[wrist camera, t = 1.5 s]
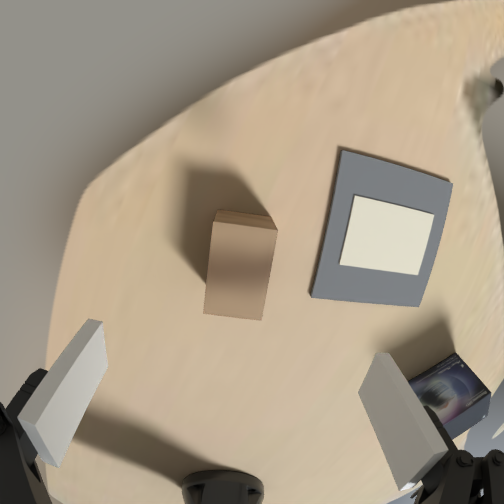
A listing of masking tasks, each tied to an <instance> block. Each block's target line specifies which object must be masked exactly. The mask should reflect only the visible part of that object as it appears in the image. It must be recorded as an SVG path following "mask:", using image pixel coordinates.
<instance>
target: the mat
mask: <svg viewBox="0 0 504 504" xmlns="http://www.w3.org/2000/svg"><path fill="white" fill-rule="evenodd" d="M452 187H453V183H450V182H447V181H444V180H442V179H439V178H436V177H433V176H430V175H427V174H424V173H421V172H418V171H415V170H412V169H409V168H405V167H402V166H399V165H396V164H392V163H389V162H385V161H382V160H378V159H375V158H371V157H367V156H364V155H360V154H356V153H352V152H348V151H344V150H341V153H340V159H339V164H338V170H337V176H336V181H335V186H334V192H333V197H332V202H331V207H330V212H329V217H328V221H327V226H326V231H325V236H324V240H323V245H322V249H321V254H320V258H319V262H318V266H317V271H316V275H315V279H314V283H313V287H312V291H311V295H310V296H311V298H319V299H329V300H339V301H350V302H361V303H372V304H384V305H397V306H411V307H419V305H420V303H421V300H422V297H423V294H424V291H425V289H426V286H427V283H428V280H429V277H430V274H431V270H432V267H433V264H434V261H435V257H436V254H437V250H438V247H439V243H440V239H441V236H442V232H443V228H444V224H445V220H446V215H447V211H448V207H449V202H450V197H451V192H452Z"/></svg>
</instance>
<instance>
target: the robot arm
mask: <svg viewBox="0 0 504 504" xmlns="http://www.w3.org/2000/svg"><path fill="white" fill-rule="evenodd" d="M107 368H108V362H107V355H106V347H105V339H104V330H103V322H102V321H97V320H93V319H88V320H87V321H86V322H85V324H84V325H83V326H82V327H81V329H80V330H79V331H78V332H77V334H76V335H75V336H74V338H73V339H72V340H71V342H70V343H69V344H68V345H67V347H66V348H65V349H64V351H63V352H62V353H61V355H60V356H59V358H58V359H57V360H56V362H55V363H54V364H53V366H52V367H51V368H50V370H49V371H46V370H44V369H38V370H37V371H35V372H33V373H32V374H31V375H30V376H29V377H28V379H27V380H26V381H25V384H23V385H22V387H21V388H20V391H18V392H17V393H16V395H15V396H14V398H13V399H12V401H11V402H10V404H9V405H8V406H7V408H6V409H5V408H4V406H3V404H2V403H1V402H0V504H52V502H51V500H50V497H49V495H48V493H47V490H46V488H45V485H44V483H43V480H42V477H41V474H40V472H39V469H38V466H37V463H36V461H35V458H36V456H37V454H39V456H40V458H41V459H42V461H44V462H46V463H48V464H50V465H53V466H55V467H58V468H59V467H60V465H61V463H62V460H63V458H64V456H65V454H66V451H67V449H68V447H69V445H70V442H71V440H72V438H73V436H74V434H75V432H76V430H77V427H78V425H79V423H80V421H81V419H82V417H83V415H84V413H85V411H86V409H87V407H88V405H89V403H90V401H91V399H92V397H93V395H94V393H95V391H96V389H97V387H98V385H99V383H100V381H101V379H102V377H103V375H104V374H105V372H106V370H107ZM358 394H359V396H360V398H361V400H362V403H363V405H364V407H365V410H366V412H367V414H368V417H369V419H370V421H371V424H372V426H373V428H374V431H375V433H376V435H377V438H378V440H379V442H380V445H381V447H382V450H383V452H384V455H385V457H386V459H387V462H388V464H389V467H390V469H391V472H392V474H393V477H394V479H395V482H396V484H397V487H398V489H399V491H401V490H405V489H409V488H412V487H414V486H415V485H416V484H417V483H418V482H419V481H420V480H421V481H422V483H423V485H422V486H421V487H420V488H419V489H418V490H417V491H416V492H415V493H414V494H413V495H412V496H411V498H413V497H415V496H416V495H417V497H416V499H415V502H414V504H504V453H503V452H502V451H500V450H496V449H495V450H491V451H490V452H489V453H488V454H487V455H486V456H485V457H476V458H475V457H473V456H472V455H471V454H470V453H469V452H467V451H465V450H458V449H457V447H456V446H455V444H454V442H453V441H452V439H451V437H450V436H449V434H448V432H447V431H446V429H445V428H443V424H442V423H441V421H440V419H439V418H438V416H437V415H436V413H435V412H434V411H433V410H432V409H431V408H430V407H429V406H427V405H426V406H422V404H421V402H420V401H419V399H418V397H417V396H416V394H415V393H414V391H413V390H412V388H411V386H410V385H409V383H408V382H407V380H406V378H405V377H404V375H403V374H402V372H401V371H400V369H399V368H398V366H397V365H396V363H395V361H394V360H393V358H392V357H391V355H390V354H389V353H376V354H375V357H374V359H373V361H372V364H371V366H370V368H369V370H368V372H367V375H366V377H365V379H364V381H363V383H362V385H361V387H360V389H359V391H358ZM482 490H483V492H484V495H483V496H482V497H481V493H480V492H481V491H482ZM182 495H183V499H184V502H185V504H262V501H263V498H264V486H263V484H262V482H261V481H260V480H258V479H257V478H255V477H253V476H250V475H247V474H244V473H239V472H233V471H203V472H198V473H194V474H191V475H189V476H187V477H186V478H185V479H184V480H183V485H182Z"/></svg>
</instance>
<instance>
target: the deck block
mask: <svg viewBox="0 0 504 504" xmlns="http://www.w3.org/2000/svg"><path fill="white" fill-rule="evenodd" d="M277 233H278V230H277V228H276V226H275V224H274V222H273V220H272V218H271V217H269V216H262V215H255V214H248V213H241V212H233V211H226V210H218V211H217V213H216V216H215V218H214V221H213V227H212V236H211V244H210V253H209V262H208V271H207V281H206V290H205V301H204V311H203V314H211V315H218V316H226V317H235V318H243V319H252V320H261V319H262V314H263V309H264V304H265V298H266V293H267V288H268V282H269V277H270V272H271V266H272V261H273V255H274V250H275V244H276V238H277Z"/></svg>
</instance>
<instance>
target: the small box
mask: <svg viewBox="0 0 504 504" xmlns="http://www.w3.org/2000/svg"><path fill="white" fill-rule="evenodd" d="M408 383H409V385H410V386H411V388H412V390H413V391H414V393H415V394H416V396H417V397H418V399H419V401H420V402H421V404H422V406H426V405H427V406H429V407H430V408H431V409H432V410H433V411H434V412H435V413H436V415H437V416H438V418H439V419H440V421H441V423H442V424H443V428H445V429H446V431H447V432H448V434H449V436H450V437H451V439H454V438H456V437H457V436H459V435H460V434H462V433H463V432H465V431H466V430H468V429H469V428H471V427H472V426H474V425H475V424H477V423H478V422H479V421H481V420H482V419H484V418H485V417H486V416H487V415H488V409H489V405H490V399H491V392H490V391H489V389H488V388H487V387H486V386H485V385H484V384H483V382H482V381H481V380H480V379H479V378H478V377H477V376H476V375H475V373H474V372H473V371H472V370H471V369H470V368H469V367H468V365H467V364H466V363H465V362H464V361H463V360H462V359H461V358H460V357H459V355H458V354H457V353H454V354H453V355H451V356H450V357H448V358H447V359H445V360H443V361H442V362H440V363H439V364H437V365H435V366H434V367H432V368H430V369H429V370H427V371H425V372H424V373H422V374H420V375H418V376H417V377H415V378H413V379H411V380H409V381H408Z"/></svg>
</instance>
